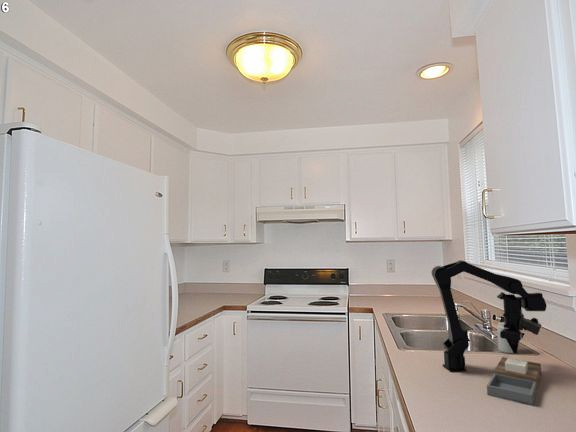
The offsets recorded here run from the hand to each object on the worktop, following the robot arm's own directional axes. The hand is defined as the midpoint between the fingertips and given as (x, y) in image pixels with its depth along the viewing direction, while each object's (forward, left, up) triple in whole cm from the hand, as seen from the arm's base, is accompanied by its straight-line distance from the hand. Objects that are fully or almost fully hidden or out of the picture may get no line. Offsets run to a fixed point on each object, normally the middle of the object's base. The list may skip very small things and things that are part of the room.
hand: (515, 353), depth 132 cm
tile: (-6, -8, -3) cm, 10 cm away
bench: (-4, -6, -7) cm, 10 cm away
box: (-14, -16, -7) cm, 22 cm away
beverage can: (+11, +20, -7) cm, 24 cm away
